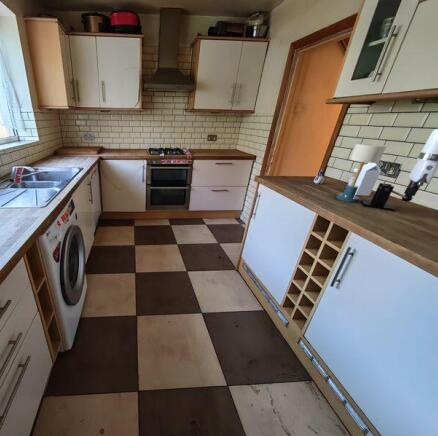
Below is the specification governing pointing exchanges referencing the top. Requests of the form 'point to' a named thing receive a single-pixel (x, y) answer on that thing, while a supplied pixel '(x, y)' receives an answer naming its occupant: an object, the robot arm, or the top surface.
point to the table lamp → (362, 154)
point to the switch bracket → (380, 198)
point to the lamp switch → (403, 196)
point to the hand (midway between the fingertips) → (408, 194)
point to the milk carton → (367, 179)
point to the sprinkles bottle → (353, 176)
